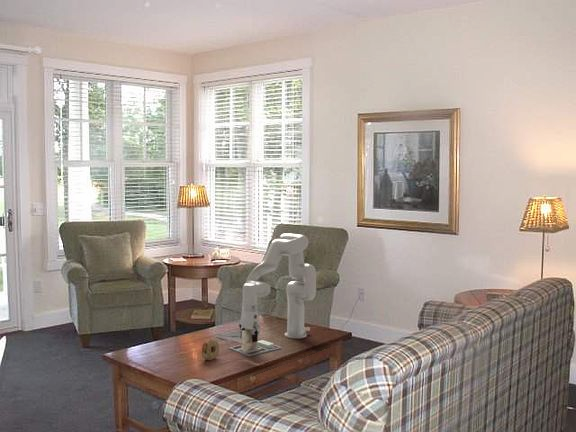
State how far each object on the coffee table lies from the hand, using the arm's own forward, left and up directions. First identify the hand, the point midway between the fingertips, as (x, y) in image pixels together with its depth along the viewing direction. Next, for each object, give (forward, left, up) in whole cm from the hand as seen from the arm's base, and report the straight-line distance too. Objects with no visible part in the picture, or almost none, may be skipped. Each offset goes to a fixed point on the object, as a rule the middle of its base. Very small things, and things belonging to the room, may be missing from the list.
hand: (248, 339), depth 326 cm
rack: (-4, 0, -7) cm, 8 cm away
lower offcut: (-11, 0, -7) cm, 13 cm away
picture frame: (-12, -24, -8) cm, 28 cm away
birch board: (0, 0, -7) cm, 7 cm away
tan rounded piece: (+22, -3, -7) cm, 23 cm away
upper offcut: (-11, 0, -5) cm, 12 cm away
